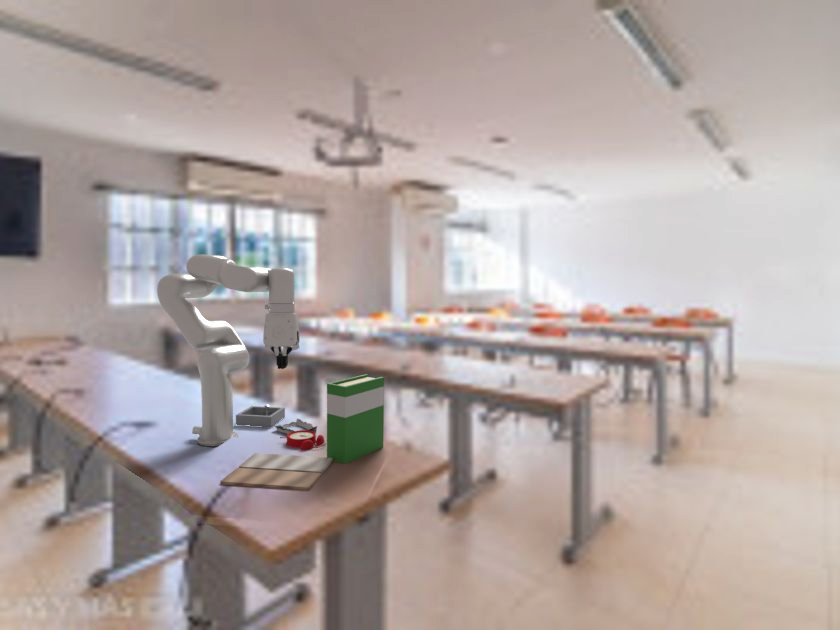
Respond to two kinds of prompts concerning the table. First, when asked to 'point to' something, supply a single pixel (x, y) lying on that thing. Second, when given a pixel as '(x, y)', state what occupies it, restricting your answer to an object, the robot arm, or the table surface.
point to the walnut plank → (271, 478)
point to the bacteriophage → (266, 411)
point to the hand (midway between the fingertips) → (282, 368)
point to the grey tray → (260, 416)
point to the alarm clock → (304, 439)
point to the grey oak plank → (287, 463)
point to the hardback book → (354, 417)
